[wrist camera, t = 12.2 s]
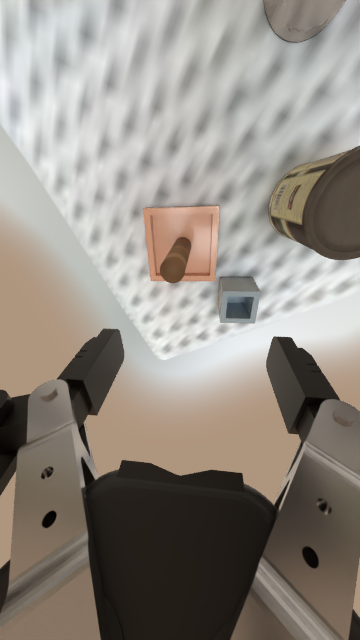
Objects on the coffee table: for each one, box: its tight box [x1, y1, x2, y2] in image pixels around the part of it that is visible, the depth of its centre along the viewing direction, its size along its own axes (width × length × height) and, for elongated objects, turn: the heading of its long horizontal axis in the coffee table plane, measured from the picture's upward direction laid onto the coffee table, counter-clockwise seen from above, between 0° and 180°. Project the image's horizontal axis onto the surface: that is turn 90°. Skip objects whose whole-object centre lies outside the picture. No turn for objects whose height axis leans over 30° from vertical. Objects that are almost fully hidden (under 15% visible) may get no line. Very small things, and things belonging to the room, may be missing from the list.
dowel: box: [160, 237, 191, 283], centre depth 30 cm, size 3×3×14 cm
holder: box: [218, 277, 261, 323], centre depth 38 cm, size 6×6×7 cm
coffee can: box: [269, 146, 360, 260], centre depth 26 cm, size 10×10×14 cm
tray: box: [143, 206, 220, 281], centre depth 36 cm, size 12×12×2 cm
